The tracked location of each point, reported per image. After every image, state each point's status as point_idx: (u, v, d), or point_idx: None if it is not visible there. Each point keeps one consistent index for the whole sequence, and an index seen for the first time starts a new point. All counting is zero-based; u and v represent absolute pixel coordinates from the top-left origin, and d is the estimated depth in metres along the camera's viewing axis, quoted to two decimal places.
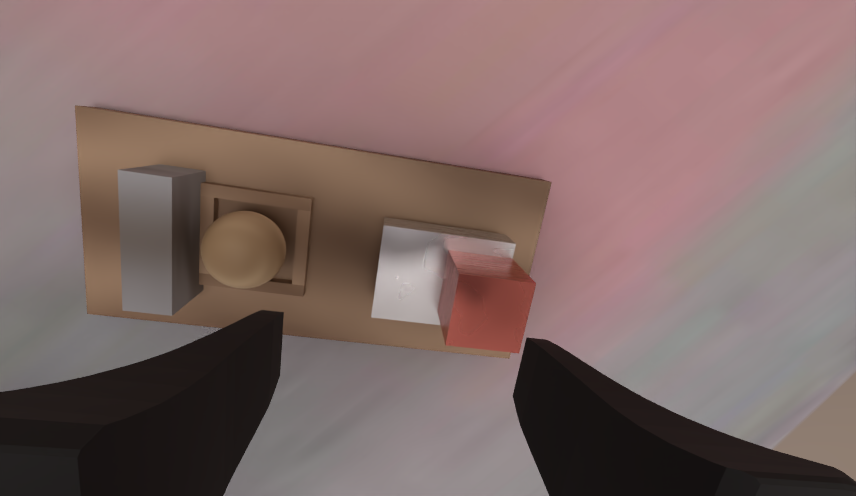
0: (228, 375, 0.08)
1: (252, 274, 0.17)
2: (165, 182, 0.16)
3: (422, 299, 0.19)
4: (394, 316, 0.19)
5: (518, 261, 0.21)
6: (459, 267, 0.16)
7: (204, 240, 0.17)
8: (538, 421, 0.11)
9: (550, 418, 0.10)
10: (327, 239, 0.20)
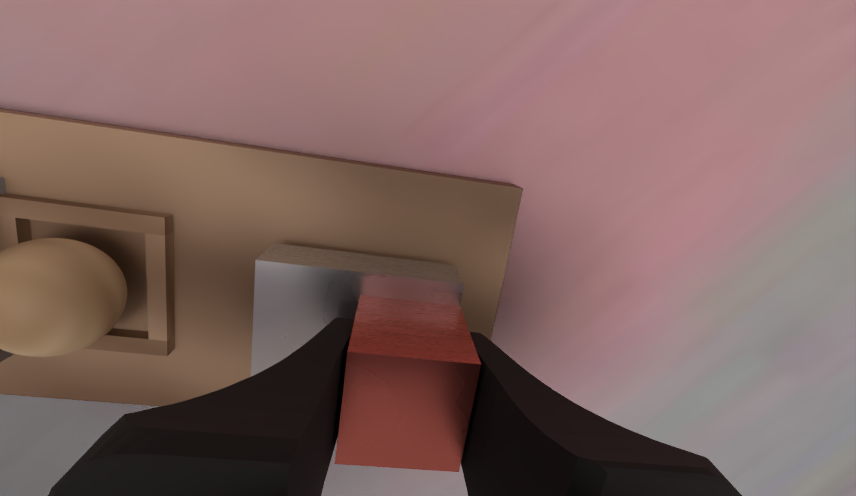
0: (332, 384, 0.08)
1: (45, 340, 0.11)
2: None
3: None
4: None
5: (478, 300, 0.15)
6: (357, 334, 0.10)
7: None
8: None
9: (471, 412, 0.10)
10: (199, 274, 0.14)
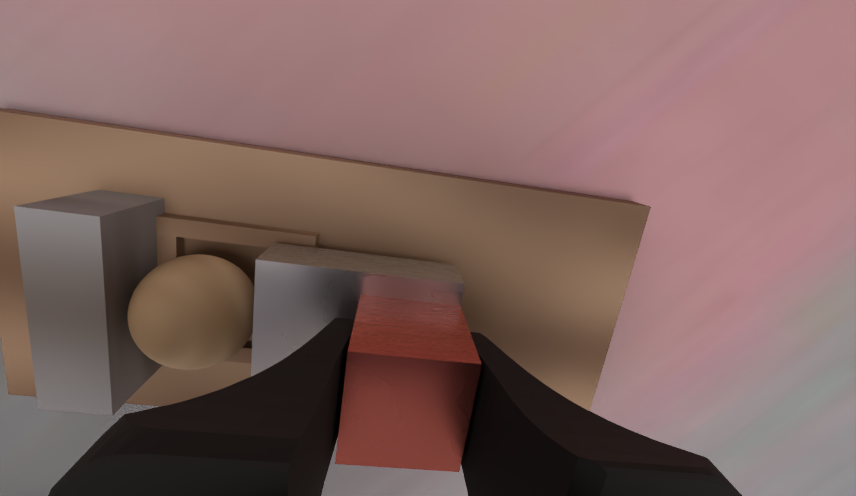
0: (332, 384, 0.08)
1: (178, 356, 0.11)
2: (89, 223, 0.10)
3: None
4: None
5: (599, 313, 0.16)
6: (357, 334, 0.10)
7: None
8: None
9: None
10: None
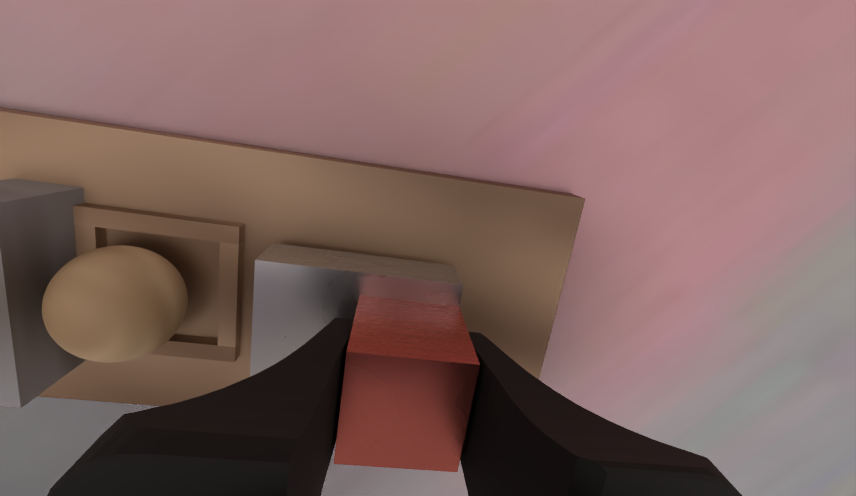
0: (332, 384, 0.08)
1: (101, 348, 0.11)
2: None
3: None
4: None
5: (537, 308, 0.15)
6: (356, 334, 0.10)
7: None
8: None
9: (471, 412, 0.10)
10: None
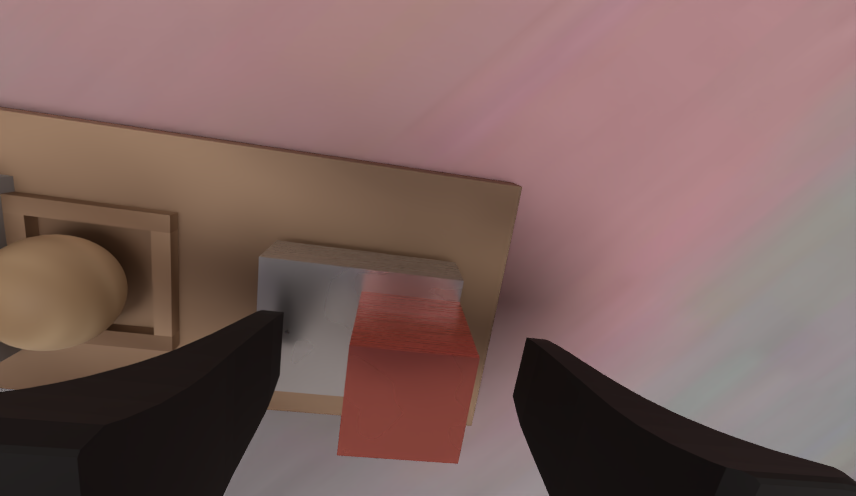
0: (228, 375, 0.08)
1: (40, 334, 0.11)
2: None
3: (328, 362, 0.13)
4: (288, 386, 0.13)
5: (478, 297, 0.15)
6: (358, 329, 0.10)
7: None
8: (538, 421, 0.11)
9: (550, 418, 0.10)
10: (203, 271, 0.14)
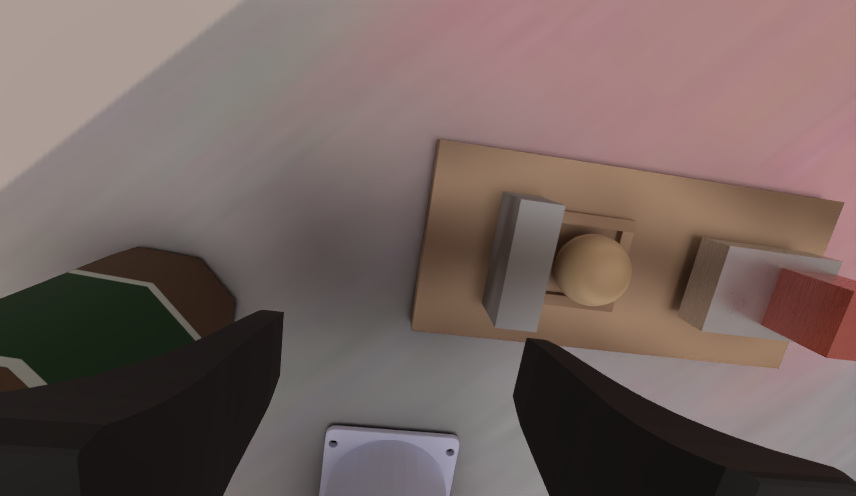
0: (228, 375, 0.08)
1: (620, 293, 0.19)
2: (558, 209, 0.18)
3: (750, 314, 0.20)
4: (721, 330, 0.20)
5: None
6: (836, 285, 0.17)
7: (579, 263, 0.18)
8: (538, 421, 0.11)
9: (550, 418, 0.10)
10: (636, 258, 0.22)
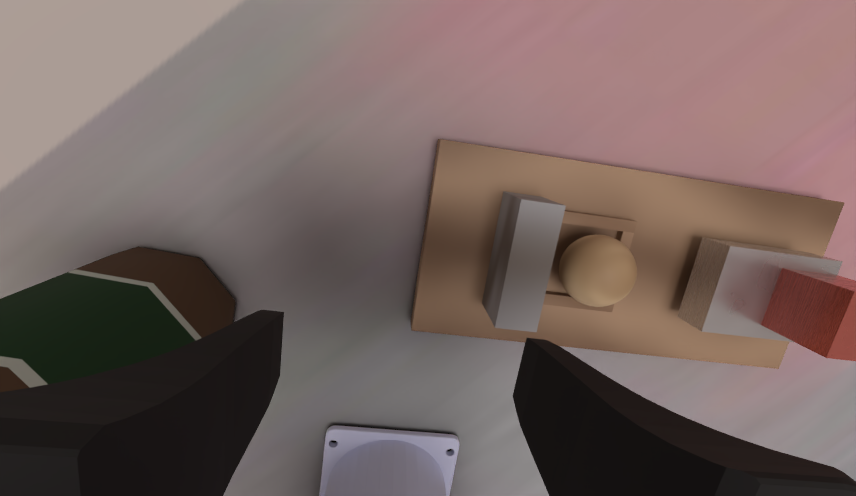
0: (228, 375, 0.08)
1: (627, 293, 0.19)
2: (559, 209, 0.18)
3: (750, 314, 0.20)
4: (721, 330, 0.20)
5: None
6: (836, 285, 0.17)
7: (589, 265, 0.18)
8: (538, 421, 0.11)
9: (550, 418, 0.10)
10: (636, 258, 0.22)
